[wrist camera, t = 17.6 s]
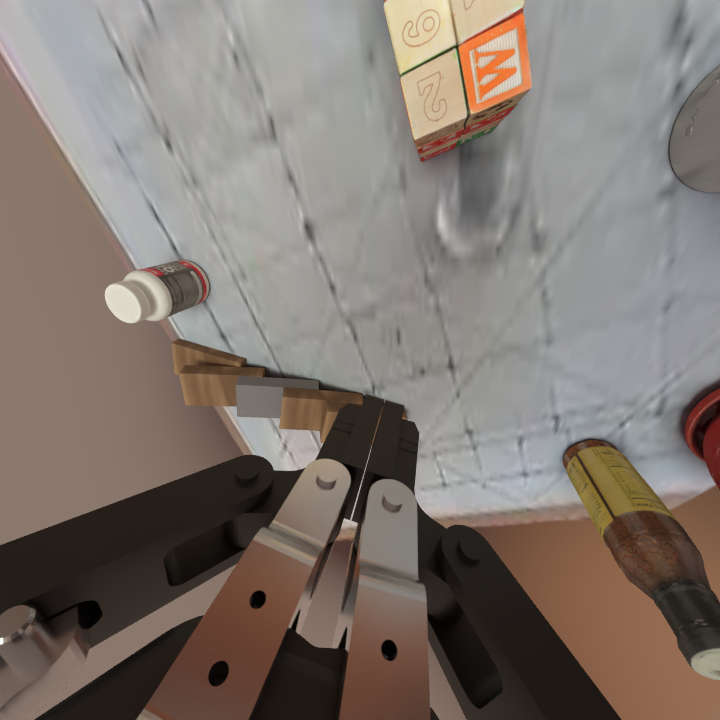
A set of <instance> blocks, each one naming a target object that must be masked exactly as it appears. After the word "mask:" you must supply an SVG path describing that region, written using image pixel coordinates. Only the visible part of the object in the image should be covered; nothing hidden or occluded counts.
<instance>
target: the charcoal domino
mask: <svg viewBox="0 0 720 720" xmlns="http://www.w3.org/2000/svg"><path fill="white" fill-rule="evenodd" d="M284 387H289V388H301V389H313V390H319V380H303V379H287V378H270V377H253V376H239V378H238V380H237V383H236V400H237V416H238V417H263V418H280V417H281V408H282V398H283V389H284Z"/></svg>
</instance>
